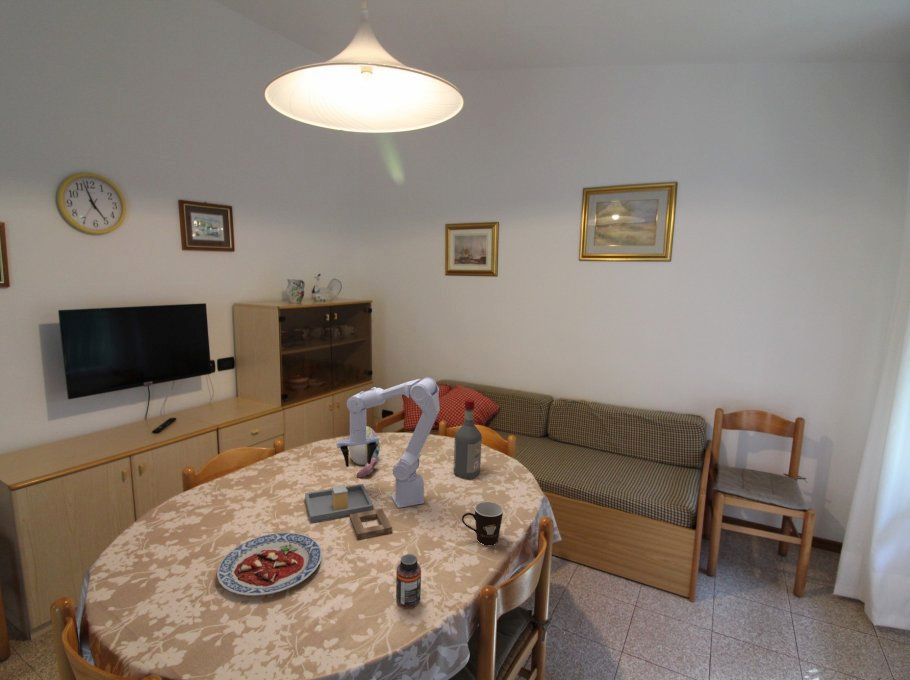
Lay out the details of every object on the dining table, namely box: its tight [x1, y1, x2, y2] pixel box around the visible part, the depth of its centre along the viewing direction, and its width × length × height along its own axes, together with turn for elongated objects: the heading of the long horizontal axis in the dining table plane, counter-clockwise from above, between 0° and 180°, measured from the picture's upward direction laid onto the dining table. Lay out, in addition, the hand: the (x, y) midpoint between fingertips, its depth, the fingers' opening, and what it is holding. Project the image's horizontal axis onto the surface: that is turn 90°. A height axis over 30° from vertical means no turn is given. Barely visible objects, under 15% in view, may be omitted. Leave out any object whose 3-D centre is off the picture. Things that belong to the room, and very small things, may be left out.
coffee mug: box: [461, 500, 504, 546], centre depth 138 cm, size 12×9×10 cm
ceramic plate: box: [216, 532, 323, 597], centre depth 122 cm, size 26×26×3 cm
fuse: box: [331, 484, 348, 511], centre depth 152 cm, size 4×5×6 cm
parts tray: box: [304, 483, 375, 524], centre depth 155 cm, size 20×16×2 cm
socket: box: [349, 508, 393, 541], centre depth 143 cm, size 11×12×2 cm
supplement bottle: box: [395, 553, 422, 609], centre depth 111 cm, size 6×6×11 cm
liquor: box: [453, 398, 482, 480], centre depth 179 cm, size 9×9×30 cm
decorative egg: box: [348, 425, 381, 466], centre depth 189 cm, size 12×12×15 cm
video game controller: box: [356, 458, 379, 479], centre depth 179 cm, size 10×5×7 cm, turn 169°
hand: (358, 464), depth 163 cm, fingers open, 7 cm apart
